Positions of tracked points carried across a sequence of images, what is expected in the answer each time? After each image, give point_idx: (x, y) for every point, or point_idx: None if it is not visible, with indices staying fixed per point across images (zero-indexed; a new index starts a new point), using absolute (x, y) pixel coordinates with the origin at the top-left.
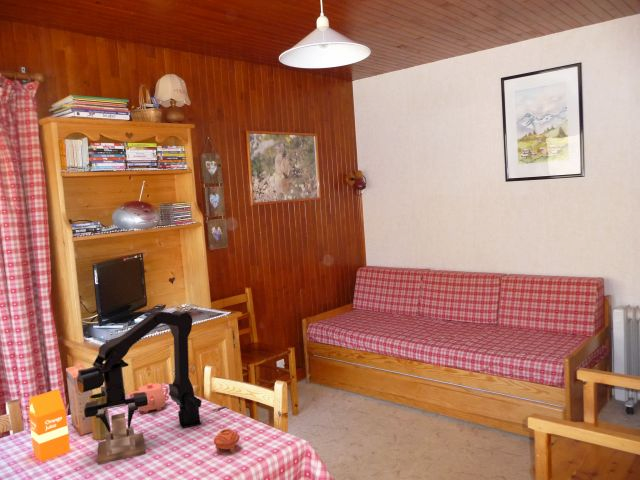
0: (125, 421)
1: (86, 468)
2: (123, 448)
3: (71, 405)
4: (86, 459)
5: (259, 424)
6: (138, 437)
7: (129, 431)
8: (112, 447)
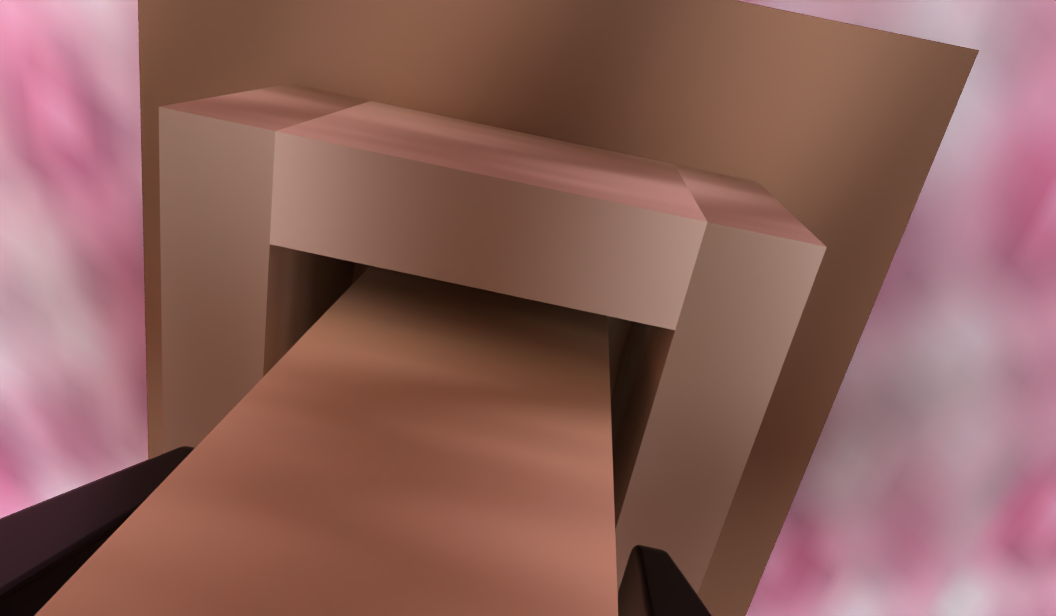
0: (614, 528)
1: None
2: None
3: None
4: (29, 291)
5: None
6: (819, 210)
7: (651, 457)
8: None
